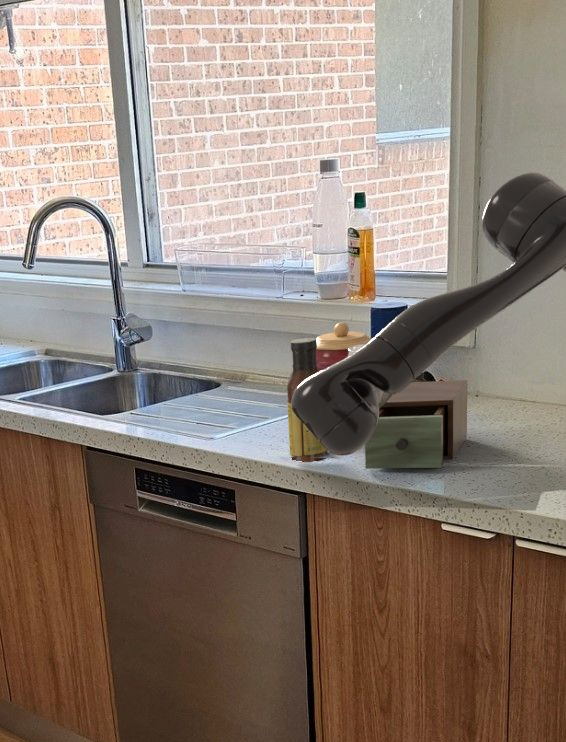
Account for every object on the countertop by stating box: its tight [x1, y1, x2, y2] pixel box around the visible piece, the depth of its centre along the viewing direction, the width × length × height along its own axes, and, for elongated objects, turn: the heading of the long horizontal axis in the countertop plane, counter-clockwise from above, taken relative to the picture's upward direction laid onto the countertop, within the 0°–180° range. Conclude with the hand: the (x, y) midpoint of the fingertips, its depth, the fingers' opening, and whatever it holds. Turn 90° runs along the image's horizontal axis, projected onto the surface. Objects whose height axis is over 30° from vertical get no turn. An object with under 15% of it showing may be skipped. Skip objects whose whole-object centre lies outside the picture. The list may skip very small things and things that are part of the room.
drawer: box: [364, 405, 448, 470], centre depth 191 cm, size 15×11×8 cm
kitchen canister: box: [315, 321, 373, 372], centre depth 222 cm, size 13×13×18 cm
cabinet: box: [381, 379, 468, 461], centre depth 198 cm, size 15×13×10 cm
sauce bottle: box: [286, 337, 329, 463], centre depth 198 cm, size 6×6×20 cm
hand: (390, 358), depth 174 cm, fingers closed
